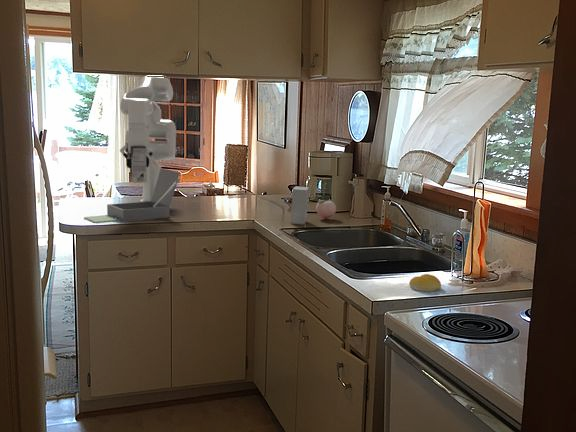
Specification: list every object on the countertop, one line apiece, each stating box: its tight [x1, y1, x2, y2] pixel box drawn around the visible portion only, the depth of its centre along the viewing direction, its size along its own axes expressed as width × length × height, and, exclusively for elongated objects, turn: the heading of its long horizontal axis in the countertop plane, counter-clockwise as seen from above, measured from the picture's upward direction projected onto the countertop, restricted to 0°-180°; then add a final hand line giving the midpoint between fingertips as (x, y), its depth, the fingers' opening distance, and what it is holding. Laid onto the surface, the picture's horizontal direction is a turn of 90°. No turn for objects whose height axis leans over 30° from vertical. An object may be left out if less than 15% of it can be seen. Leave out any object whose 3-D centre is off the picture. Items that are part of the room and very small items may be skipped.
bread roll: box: [409, 273, 442, 293], centre depth 186 cm, size 8×9×4 cm
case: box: [106, 168, 181, 223], centre depth 287 cm, size 20×27×20 cm
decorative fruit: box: [315, 197, 337, 220], centre depth 292 cm, size 9×8×10 cm
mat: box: [83, 214, 119, 224], centre depth 277 cm, size 13×10×1 cm
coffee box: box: [129, 146, 146, 184], centre depth 284 cm, size 9×6×16 cm
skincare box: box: [290, 185, 310, 225], centre depth 282 cm, size 8×7×16 cm
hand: (137, 167), depth 285 cm, fingers closed on coffee box, 7 cm apart
